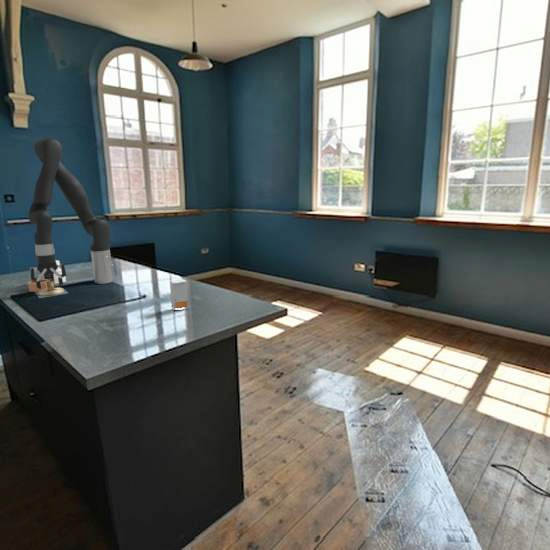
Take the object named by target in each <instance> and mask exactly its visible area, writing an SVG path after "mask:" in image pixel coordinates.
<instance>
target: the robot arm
mask: <svg viewBox="0 0 550 550" xmlns="http://www.w3.org/2000/svg"><path fill="white" fill-rule="evenodd" d="M33 150H34V154H35V155H36V156H37V158H38V159H39V160H40V161H41V163H42V165H41V169H40V172H39V175H38V177H37V180H36V182H35V185H34V192H33V198H32V199H33V200H32V203H31V205H30V208H29V211H28V221H29V223H30V224H32V225H34V226H36V231H35V232H34V233H33V238H34V247H35V248H34V249H35V257H36V263H37V266H36V267H31V266H30V267H29V275H30V281H36V284H37V288H39V289H41V284H40V281H39V280H40V279H43V277H44V275H45V276H46V275H53V274H56V275H57V276H58V277H59V278H58V281H59V283H58V285H59V286H60V287H62V286H63V283H64V282H63V281H62V278H63V277H64V276H66V277H67V273H66V267H65V264H63V263H60V265H57V264H56V260H57V259H56V254H55V252H56V251H55V246H54V243H53V235H52V233H53V216H52V215H51V213H50V212H49V211H47V208H48V207H49V206H51V203H52V200H53V199H52V198H53V194H54V193H53V191H54V185H55V183H56V185H57V186H58V188H59V189H60V191H61V193H62V194H63V195H64V197H65V199H66V200H67V202H68V203H69V205H70V206H71V207H72V209H73V211H74V212H75V214H76V215H77V217H78V219H79V221H80V222H81V225H82V227H83V229H84V231H85V232H86V234H87V235H88V236H90V237H92V239H93V241H92V244H90V246H89V247H90V257H91V264H92V272H93V280H94V283H95V284H99V285H101V284H109V283H110V284H111V283H113V282H115V273H114V272H115V271H114V264H113V262H112V256H111V255H112V254H111V250H110V249H111V248H110V247H111V242H112V241H111V228H110V225H109V223H108V222H107V221H106V220H104V219H99V218H96V216H95V214H94V213H93V212H92V210H91V208H90V204H89V198H88V195H87V193H86V190H85V189H84V187H83V186H82V183H80V181H79V180H78V178H77V177H75V175H74V174H73V173H71V172H70V171H69V170H68V169H67V167H65V166H64V164H63V163H62V161H61V158H62V155H63V147H62V144H61V143H60V142H59V141H58V140H57V139H55V138H51V137H50V138H43V139H38V140H36V141H35V142H34V144H33ZM58 267H59V268H60V269H61V271H62V274H61V275H60V274H59V273H58V272H56V270H57V268H58ZM37 271H38V272H39V273H38V275H36V277H35V273H36V272H37Z"/></svg>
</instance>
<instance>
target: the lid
mask: <svg viewBox="0 0 550 550" xmlns="http://www.w3.org/2000/svg"><path fill="white" fill-rule="evenodd" d="M47 288H48V289H44V290H41V291H39V295H40V296H50V297H53V296H52V295H56V296H58V295H57V294H61V293H63V292H64V290H65V289H64V288H63V287H55V284H54V282H53V281H47Z"/></svg>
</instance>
